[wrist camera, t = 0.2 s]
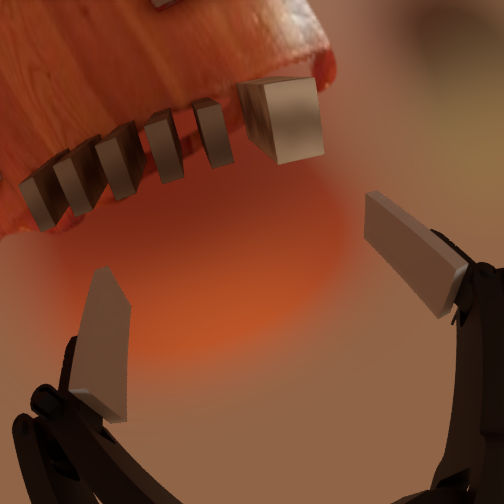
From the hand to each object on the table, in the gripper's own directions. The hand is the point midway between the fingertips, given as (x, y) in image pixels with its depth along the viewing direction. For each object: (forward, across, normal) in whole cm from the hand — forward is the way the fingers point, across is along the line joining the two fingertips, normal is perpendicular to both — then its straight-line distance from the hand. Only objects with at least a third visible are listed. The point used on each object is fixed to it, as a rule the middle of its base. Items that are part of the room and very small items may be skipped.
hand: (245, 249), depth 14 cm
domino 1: (+28, -19, +2) cm, 34 cm away
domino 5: (+28, +1, +2) cm, 28 cm away
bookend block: (+28, +9, +2) cm, 29 cm away
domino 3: (+28, -9, +2) cm, 29 cm away
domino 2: (+28, -14, +2) cm, 31 cm away
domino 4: (+28, -4, +2) cm, 28 cm away
